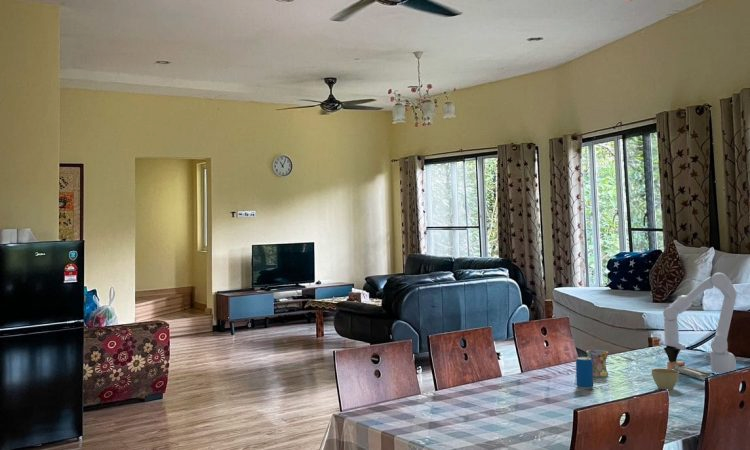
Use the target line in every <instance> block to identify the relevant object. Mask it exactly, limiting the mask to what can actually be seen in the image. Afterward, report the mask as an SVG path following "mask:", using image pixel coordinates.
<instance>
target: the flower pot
mask: <svg viewBox="0 0 750 450" xmlns="http://www.w3.org/2000/svg"><path fill="white" fill-rule="evenodd" d="M679 375H680V372H678V371H676V370H672V369H667V368H653V369H651V376H652V378H653V381H654V383H655V385H656V386H657V388H658V389H659V390H661V389H668V390H667V391H673V389H674V388H675V386H676V385H677V382H678V381H679Z"/></svg>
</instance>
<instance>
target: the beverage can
mask: <svg viewBox="0 0 750 450" xmlns="http://www.w3.org/2000/svg"><path fill="white" fill-rule="evenodd" d="M575 373H576V374H575V375H576V387H578V389H582V390H591V389H592V388H593V387H594V376H593V362H592V360H591V358H589V357H587V356H578V357H576V360H575Z"/></svg>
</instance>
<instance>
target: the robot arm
mask: <svg viewBox="0 0 750 450" xmlns="http://www.w3.org/2000/svg"><path fill="white" fill-rule="evenodd" d="M714 288H716V289H718V290H719V291H720V293H722V295H723V300H722V305H721V309H720V314H719V319H718V321H717V327H716V331H715V335H714V337H713V338H712V339H711V341H710V342H711V343H710V348H711V350H710V371H712V372H716V373H719V374H720V373H725V372H729V371H734V370H736V371H737V362H736V356H735V355H734V354H733V353H732V352H729V351H728V348H729V347H728V345H729V344H728V336H729V330H730V326H731V322H732V321H731V320H732V318H733V312H734V308H735V304H736V299H737V294H738V292H737V291H736V288H735V286H734V285H733V283H732V281H731V278H730V277H728V276H727V275H726V274H725V273H723V272H715V273H713V275H712V276H709V277H707V278H706V279H704V280H703V281H701V282H700V283H699V284H698V285H697V286H695V287H694V289H692V290H691V291H690V292H689V293H688V294H685V295H684V294H682V295H678V296H677V297H676V299H675V300H674V301H673V302H671V303H669V304H668V306H667V307H666V308H665V309H664V310H663V312H662V315H663V317H664V318H663V321H664V323H663V328H664V331H663V332H664V340H659V341H658V345H659V346H663V350H664V352H665V353H666V356H667V358H668V362H677V358H678V356H679V353H680V351H685V350H687V349H686V345H684V344H682V343H680V340H679V323H678V316H679V315H681V314H683V312H686V310H687V309H689V308H690V307H691V306H692V304H693V300H695V299H696V298H697V297H699V296H700V295H701V294H702V293H704V292H705V291H707V290H711V289H714ZM715 375H716V376H718V375H717V374H715Z"/></svg>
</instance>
